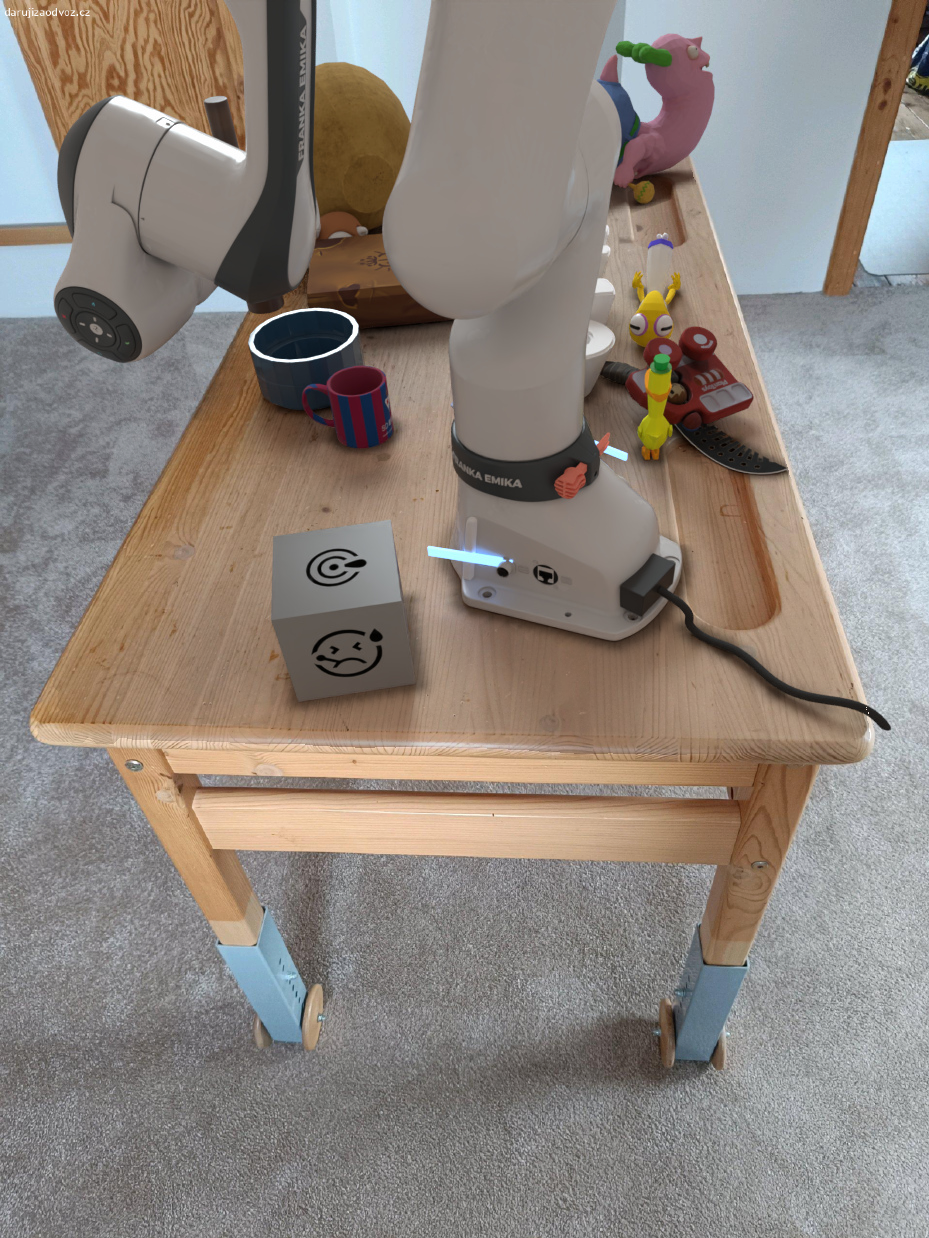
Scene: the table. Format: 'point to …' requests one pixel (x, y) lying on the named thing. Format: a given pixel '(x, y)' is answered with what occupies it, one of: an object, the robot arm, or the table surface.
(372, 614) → the icon cube
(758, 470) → the knife
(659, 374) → the toy figure
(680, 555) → the robot arm
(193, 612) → the table surface
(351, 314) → the carved wooden box
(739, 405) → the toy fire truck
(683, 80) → the toy
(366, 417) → the cup
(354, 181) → the tan rounded lump
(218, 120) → the cylinder
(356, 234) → the figurine
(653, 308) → the character
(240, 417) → the table surface
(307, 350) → the bowl
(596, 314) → the wavy white extrusion
